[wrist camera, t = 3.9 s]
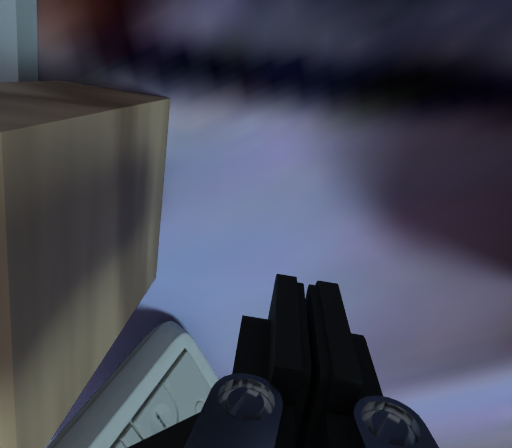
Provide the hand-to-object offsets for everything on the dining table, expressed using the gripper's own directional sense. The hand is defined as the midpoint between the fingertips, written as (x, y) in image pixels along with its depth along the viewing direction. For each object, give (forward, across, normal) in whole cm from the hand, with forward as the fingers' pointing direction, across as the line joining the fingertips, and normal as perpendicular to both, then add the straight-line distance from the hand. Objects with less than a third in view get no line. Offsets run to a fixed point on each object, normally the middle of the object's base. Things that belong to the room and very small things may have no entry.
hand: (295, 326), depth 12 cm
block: (+10, +9, 0) cm, 13 cm away
